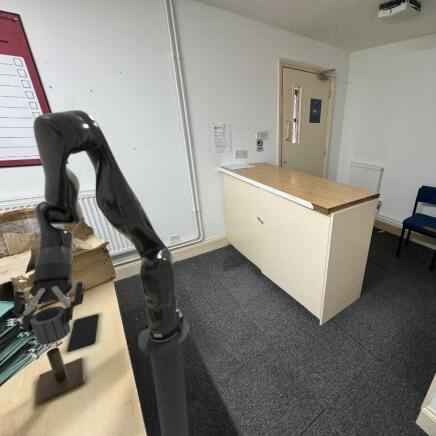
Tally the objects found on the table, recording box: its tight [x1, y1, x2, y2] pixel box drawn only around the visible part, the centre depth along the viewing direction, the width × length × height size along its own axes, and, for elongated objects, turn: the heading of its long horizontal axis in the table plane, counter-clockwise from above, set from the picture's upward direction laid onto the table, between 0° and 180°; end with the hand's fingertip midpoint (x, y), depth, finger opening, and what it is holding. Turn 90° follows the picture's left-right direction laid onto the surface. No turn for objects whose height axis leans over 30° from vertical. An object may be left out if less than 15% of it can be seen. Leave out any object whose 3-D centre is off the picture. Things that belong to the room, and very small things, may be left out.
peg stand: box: [37, 347, 85, 405], centre depth 64 cm, size 9×9×11 cm
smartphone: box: [67, 313, 100, 353], centre depth 81 cm, size 7×1×15 cm
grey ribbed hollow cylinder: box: [30, 305, 71, 346], centre depth 63 cm, size 6×6×7 cm
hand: (48, 326), depth 61 cm, fingers closed on grey ribbed hollow cylinder, 6 cm apart
